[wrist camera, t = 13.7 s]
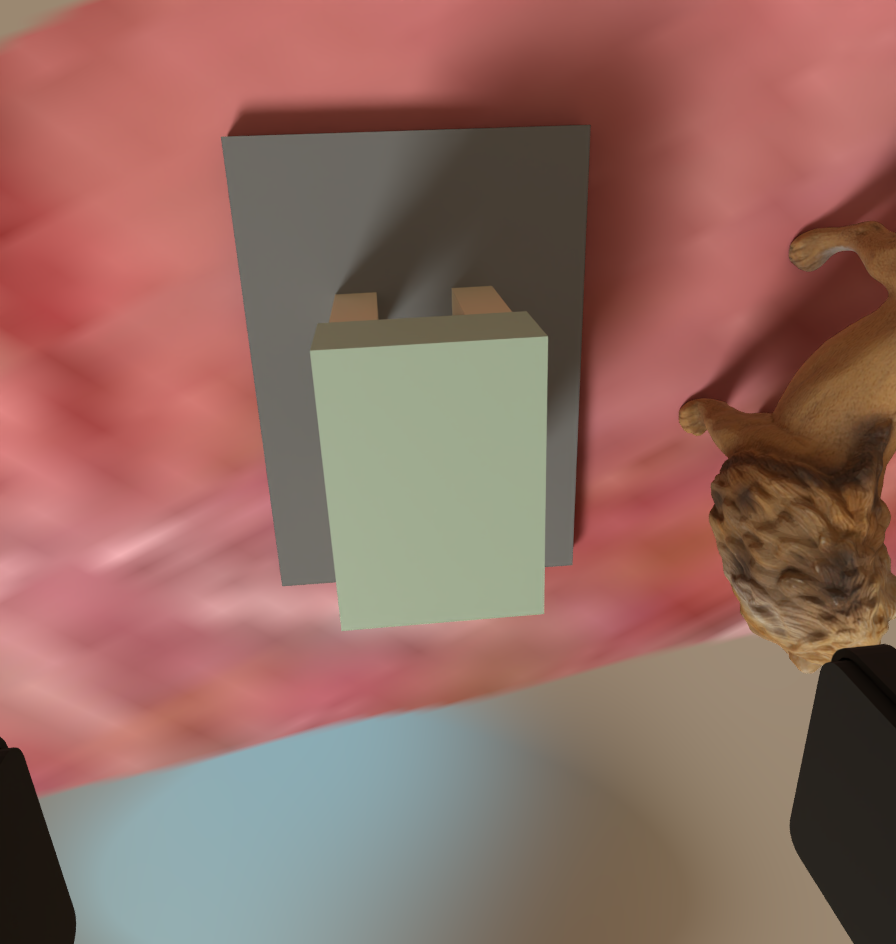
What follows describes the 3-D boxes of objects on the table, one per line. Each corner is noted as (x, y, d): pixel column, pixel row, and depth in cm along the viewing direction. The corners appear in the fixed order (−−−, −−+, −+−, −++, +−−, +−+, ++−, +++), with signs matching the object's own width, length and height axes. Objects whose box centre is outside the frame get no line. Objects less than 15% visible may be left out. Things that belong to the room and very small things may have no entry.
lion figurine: (745, 551, 28) (896, 722, 20) (619, 507, 27) (725, 671, 19) (992, 151, 23) (1327, 162, 15) (851, 75, 22) (1133, 42, 14)
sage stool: (327, 287, 22) (309, 350, 16) (498, 278, 23) (548, 336, 16) (349, 504, 25) (341, 631, 19) (500, 493, 26) (543, 613, 19)
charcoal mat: (284, 573, 27) (282, 586, 26) (225, 136, 21) (221, 136, 21) (567, 553, 28) (572, 564, 27) (583, 124, 22) (590, 124, 21)
